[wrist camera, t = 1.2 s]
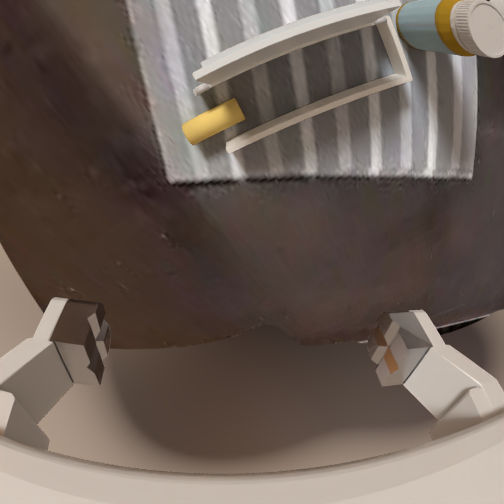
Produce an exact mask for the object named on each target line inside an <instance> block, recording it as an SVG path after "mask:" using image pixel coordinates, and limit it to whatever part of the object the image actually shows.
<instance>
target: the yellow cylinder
mask: <svg viewBox="0 0 504 504" xmlns="http://www.w3.org/2000/svg"><path fill="white" fill-rule="evenodd" d="M243 120H245V116H244V114H243V112H242V110H241V108H240V106H239V104H238V102H237V101H236V99H235V98H233V99H231V100H228V101H226V102H224V103H222V104H220V105H218V106H216V107H214V108H212V109H210V110H208V111H207V112H205V113H203V114H201V115H199V116H197V117H195V118H193V119H191V120H189V121H188V122H186V123H184V124H182V129H183V132H184V134H185V136H186V138H187V139H188V141H189V142H190V143H191V144H192V145H195V144H197V143H199V142H201V141H203V140H205V139H207V138H209V137H211V136H213V135H215V134H217V133H218V132H221V131H223V130H225V129H227V128H229V127H231V126H233V125H235V124H237V123H239V122H241V121H243Z"/></svg>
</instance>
